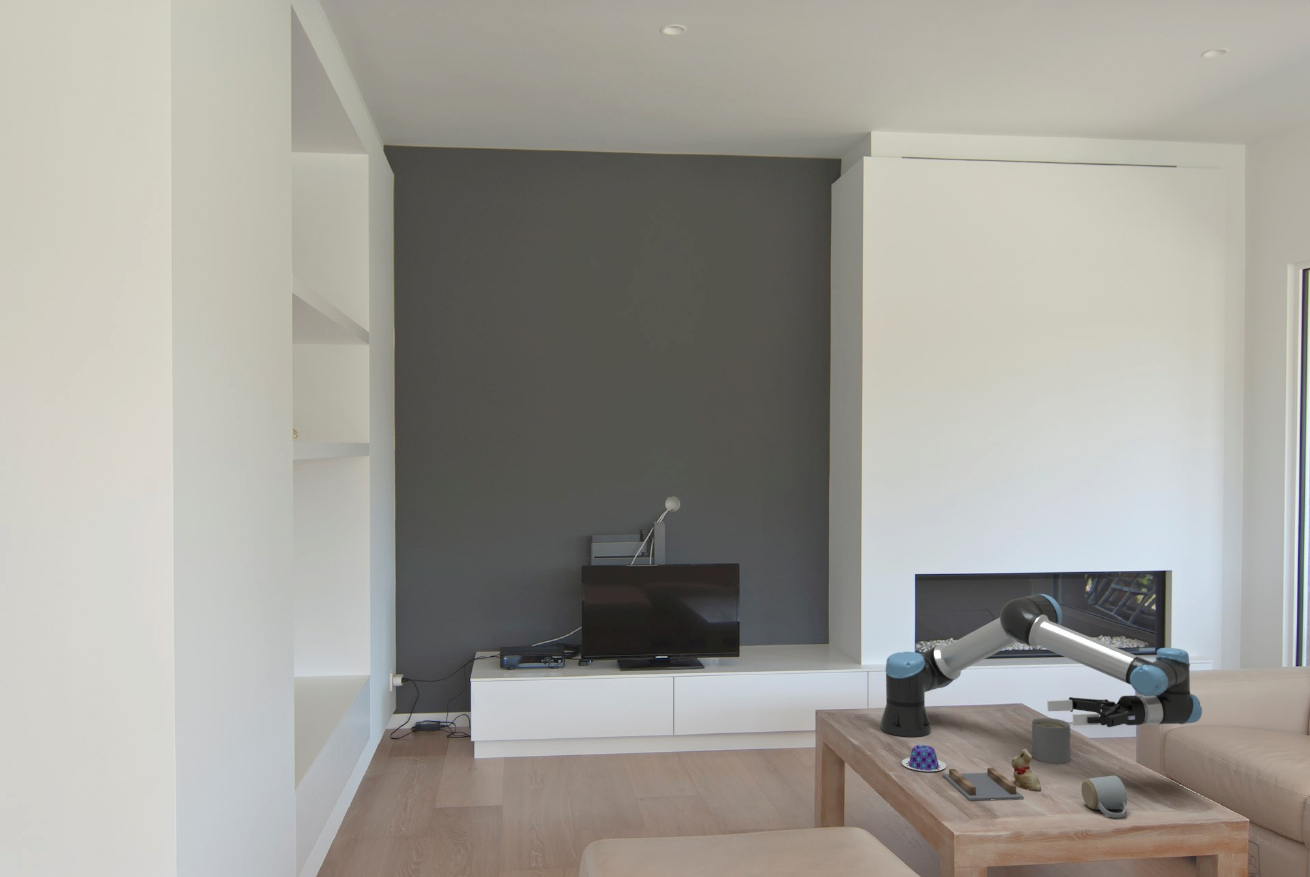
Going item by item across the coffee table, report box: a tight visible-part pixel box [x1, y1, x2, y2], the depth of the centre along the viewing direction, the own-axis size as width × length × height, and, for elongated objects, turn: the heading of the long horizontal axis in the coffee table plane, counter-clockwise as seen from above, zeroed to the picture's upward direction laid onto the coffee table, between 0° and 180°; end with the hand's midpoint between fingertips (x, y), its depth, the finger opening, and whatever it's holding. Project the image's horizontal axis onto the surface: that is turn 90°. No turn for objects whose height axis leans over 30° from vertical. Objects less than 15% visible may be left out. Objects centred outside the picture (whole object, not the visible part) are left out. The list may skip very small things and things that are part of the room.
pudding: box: [901, 744, 947, 772], centre depth 264 cm, size 12×12×5 cm
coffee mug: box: [1031, 717, 1072, 764], centre depth 271 cm, size 13×10×10 cm
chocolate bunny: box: [1011, 748, 1042, 792], centre depth 247 cm, size 6×8×10 cm
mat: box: [942, 772, 1025, 802], centre depth 246 cm, size 18×14×1 cm
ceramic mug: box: [1081, 775, 1128, 819], centre depth 230 cm, size 11×8×8 cm
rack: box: [948, 767, 1017, 795], centre depth 246 cm, size 14×12×2 cm
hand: (1060, 712), depth 248 cm, fingers open, 13 cm apart
